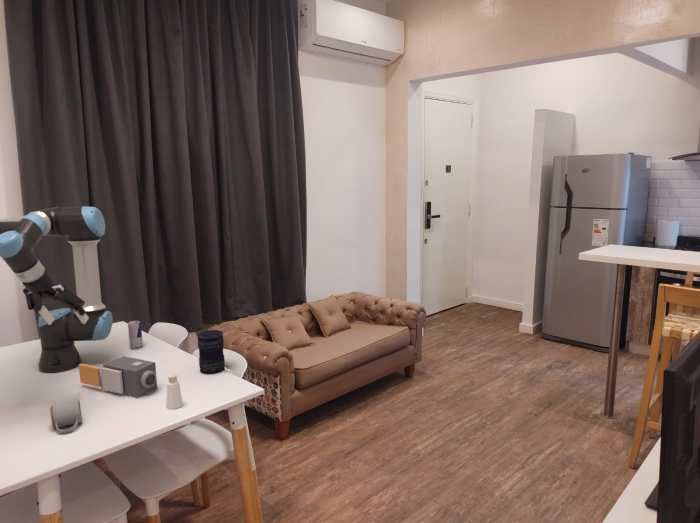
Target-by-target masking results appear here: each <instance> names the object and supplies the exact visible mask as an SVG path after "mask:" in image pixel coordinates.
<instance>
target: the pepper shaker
mask: <svg viewBox="0 0 700 523" xmlns="http://www.w3.org/2000/svg"><path fill="white" fill-rule="evenodd" d="M167 378H168V379H167V380H168V382H167V384H166V401H165V402H166V403H165V404H166V405H165V406H166V408H167V409H168V410H176V408H177V409H179V408H182V406H183V405H184V403H183V397H182V391H181V388H180V382H179V381H178V376H177V373H176V374H175V373H172V374H171V373H170V374H168V376H167Z"/></svg>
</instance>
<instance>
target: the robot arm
mask: <svg viewBox="0 0 700 523" xmlns="http://www.w3.org/2000/svg"><path fill="white" fill-rule="evenodd" d="M105 233H106V222H105V218H104V215H103V213H102V211H101V210H100V209H99V208H98V207H95V206H87V205H86V206H85V205H83V206H55V207H49V208H43V209H40V210H34V211H30V212H29V213H27V214H26V215H20V216H14V217H8V218H2V219H1V218H0V257H1V259H2V260H3V261H4V262H5V263H6V264H7V266H8V267H9V268H10V270H11V271H12V272H13V273H14V275H15V276H16V277H17V279H18V280H20V282H21V283H22V285H23V287H24V288H23V289H22V292H23V294H24V296H25V300H26V304H27V309H28V310H29V311H32V310H33V311H35V312H37V313H38V315H39V316H38V319H37V320H38V321H37V322H38V323H37V324H38V326H37V327H38V331H39V339H40V347H41V353H40V357H39V362H38V371H39V372H42V373H47V374H48V373H49V374H50V373H52V374H53V373H60V372H65V371H69V370H72V369H74V368H77V367H79V366H78V365H79V364H82V357H81V355H80V353H79V351H78V349H77V347H76V345H75V344H76V343H75V342H84V341H85V342H88V341H93V342H95V341H103V340H106V339H107V338H108V337H109V336H110V334H111V331H112V328H113V322H114V320H113V318H114V317H113V314H112V312H111V311H109V310H107V307H106V305H105V304H104V303H103V302H102V293H101V280H100V268H99V255H98V243H99V242H100V241H101V237H103V236H104V235H105ZM43 237H67V238H66V240H67V243H69V244H70V245H71V246H72V254H73V255H72V256H73V267H74V278H75V288H76V294H75V293H73V292H72V291H71V290H70V289H69V288H67V287H66V286H65V285H64V284H63V283H59V284H58V285H55V284H54V283H53V281H52V280H53V279H52V276H51V275H50V274H49V273H48V271H47V270H46V268H45V267H44V265H43V264H42V263H41V261H40V260H39V259H38V258H37V256H36V255H35V253H34V252H33V251H34V249H36V246H37V245H38V243H39V242H40V241H41V239H42V238H43ZM46 299H51V300H53V301H58V302H60V303H61V304H63V305H65V306H67V307H62V308H61V307H60V308H57V309H52V310H49V309H47V307H46V306H45V305H43V301H44V300H46ZM72 309H73V311H72Z"/></svg>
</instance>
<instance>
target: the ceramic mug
mask: <svg viewBox="0 0 700 523" xmlns="http://www.w3.org/2000/svg"><path fill="white" fill-rule="evenodd" d="M49 412H50V420H51V425H52V427H53V428H55V429H56V431H57V433H59V434H62V435H64V434H70V433H72V432H73V431H75V430H76V429H77V427H78V425H79V424H80V423H82V422H83V417H82V408H81V403H80V398H79V397H76V398H73V399H69V400H65V401H61V402H57V403H54V404H53V405H51V406H50V409H49ZM71 425H73V426H72V427H70V428H68V429H61V428H62V427H66V426H71Z"/></svg>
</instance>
